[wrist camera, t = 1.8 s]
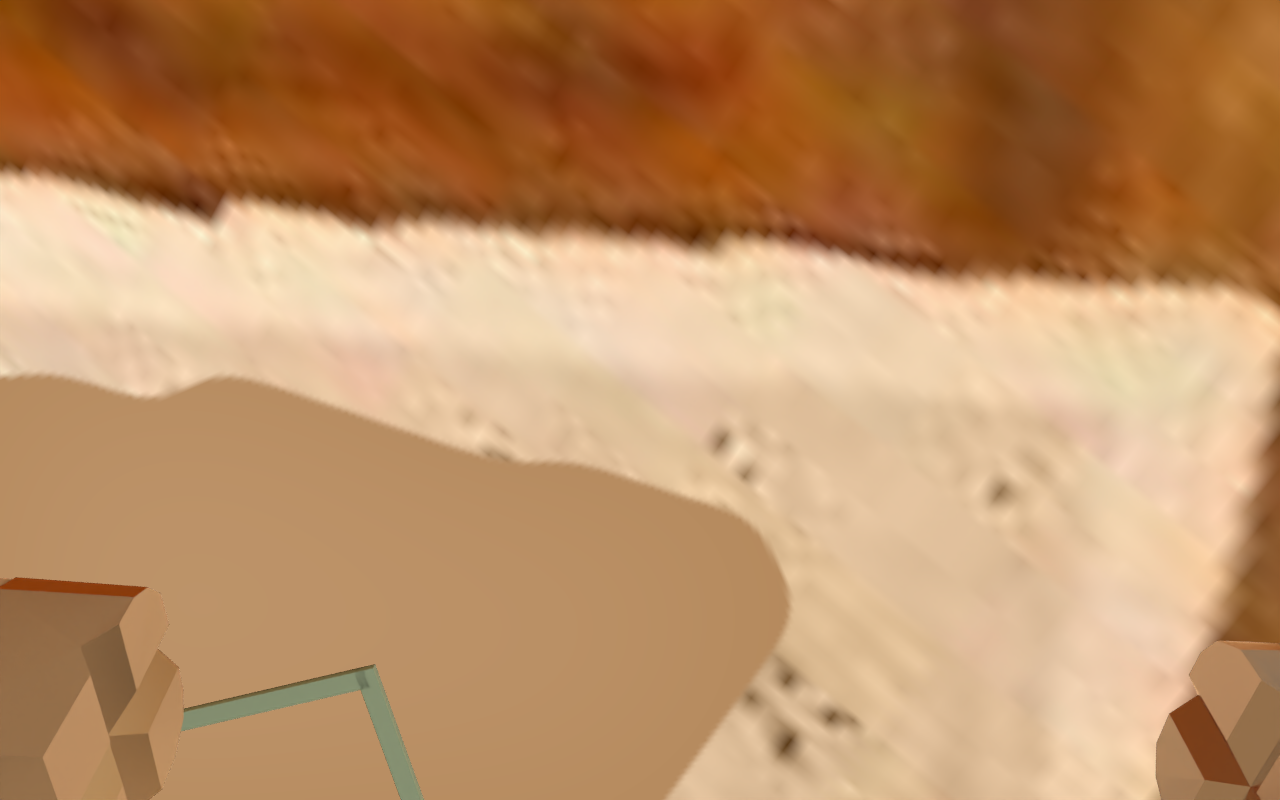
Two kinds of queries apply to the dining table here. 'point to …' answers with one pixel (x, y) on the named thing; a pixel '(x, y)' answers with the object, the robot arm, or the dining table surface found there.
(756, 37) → the dining table surface
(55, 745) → the robot arm
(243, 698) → the frame
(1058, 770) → the dining table surface
